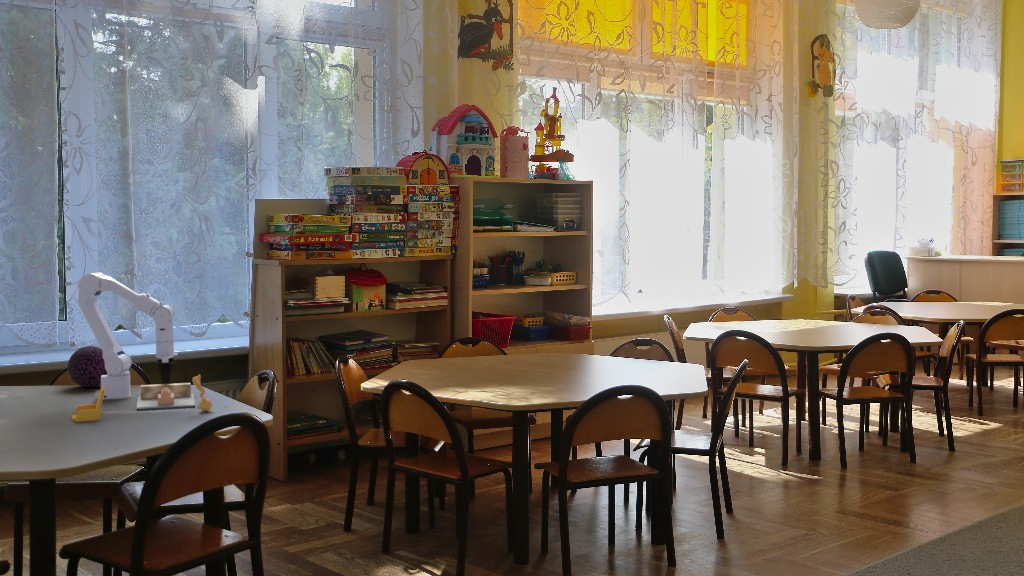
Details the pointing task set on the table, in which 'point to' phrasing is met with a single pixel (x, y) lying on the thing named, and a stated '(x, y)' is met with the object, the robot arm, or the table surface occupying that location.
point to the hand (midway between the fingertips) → (165, 380)
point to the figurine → (205, 403)
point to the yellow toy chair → (89, 410)
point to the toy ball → (87, 366)
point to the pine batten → (177, 389)
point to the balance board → (154, 403)
